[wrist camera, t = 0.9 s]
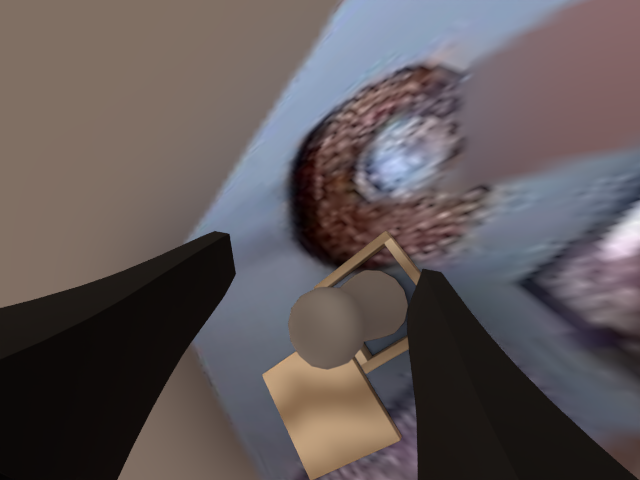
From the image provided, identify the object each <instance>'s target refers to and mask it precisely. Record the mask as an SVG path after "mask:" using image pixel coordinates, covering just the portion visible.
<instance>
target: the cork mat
mask: <svg viewBox="0 0 640 480" xmlns="http://www.w3.org/2000/svg"><path fill="white" fill-rule="evenodd" d="M262 376H263V378H264V380H265V382H266V385H267V387H268V389H269V391H270V393H271V395H272V398H273V400H274V402H275V404H276V406H277V409H278V411H279V413H280V415H281V417H282V419H283V422H284V424H285V426H286V428H287V430H288V433H289V435H290V437H291V439H292V441H293V443H294V446H295V448H296V450H297V452H298V454H299V457H300V459H301V461H302V463H303V465H304V467H305V470H306V472H307V474H308V476H309V478H310V480H313V479H316V478H318V477H320V476H322V475H324V474H327V473H329V472H331V471H333V470H336V469H338V468H340V467H342V466H344V465H347V464H349V463H351V462H353V461H356V460H358V459H360V458H362V457H364V456H367V455H369V454H371V453H373V452H376V451H378V450H380V449H382V448H384V447H387V446H389V445H391V444H393V443H395V442H398V441H400V440H401V437H402V436H401V434H400V432H399V431H398V429H397V427H396V426H395V424H394V422H393V421H392V419H391V417H390V416H389V414H388V412H387V411H386V409H385V407H384V406H383V404H382V402H381V401H380V399H379V397H378V396H377V394H376V392H375V391H374V389H373V387H372V386H371V384H370V382H369V381H368V379H367V377H366V376H365V374H364V372H363V371H362V369H361V367H360V366H359V364H358V362H357V361H356V359H355V357H353V358H352V360H351V361H350V362H349V363H347V364H345V365H342V366H339V367H335V368H332V369H329V370H326V369H321V368H317V367H312V366H311V365H310V364H308V363H307V362H306V361H305V360H304V359H302V358H301V357H300V356H299V355H298V353H297V351H296V352H294V353H293V354H292V355H290V356H289V357H287V358H286V359H284V360H283V361H281V362H280V363H279V364H277V365H276V366H274V367H273V368H271V369H270V370H269V371H267V372H266V373H264V374H263V375H262Z"/></svg>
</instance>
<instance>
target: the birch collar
mask: <svg viewBox="0 0 640 480" xmlns="http://www.w3.org/2000/svg"><path fill="white" fill-rule="evenodd" d="M385 246H386V247H387V248H388V249H389V251H390V252H391V253H392V255H393V256H394V257H395V258H396V260H397V261H398V262H399V264H400V265H401V266H402V268H403V269H404V270H405V272H406V273H407V274H408V275H409V277H410V278H411V279H412V281H413V282H414V283H415V285H417V283H418V280H419V277H420V275H421V272H420V271H419V270H418V268H417V267H416V266H415V265H414V263H413V262H412V261H411V260H410V258H409V257H408V256H407V254H406V253H405V252H404V251H403V249H402V248H401V247H400V246H399V244H398V243H397V242H396V241H395V239H394V238H393V237H392V235H391V234H390V233H389V232H387V231H385V232H384V233H382V234H381V235H380V236H379V237H377V238H376V239H375V240H374V241H372V242H371V243H370V244H368V245H367V246H366V247H365V248H363V249H362V250H361V251H360V252H358V253H357V254H356V255H354V256H353V257H352V258H351V259H349V260H348V261H347V262H346V263H344V264H343V265H342V266H340V267H339V268H338V269H337V270H335V271H334V272H333V273H332V274H330V275H329V276H328V277H326V278H325V279H324V280H323V281H321V282H320V283H319V284H318V285H316V286H315V287H314V289H316V288H318V287H333V286H334V285H335V284H337V283H338V282H339V281H340V280H342V279H343V278H344V277H346V276H347V275H348V274H350V273H351V272H352V271H354V270H355V269H356V268H357V267H359V266H360V265H361V264H363V263H364V262H365V261H367V260H368V259H369V258H371V257H372V256H373V255H375V254H376V253H377V252H378V251H380V250H381V249H382V248H384V247H385ZM408 349H409V345H408V336H407V335H406V336H405V337H403V338H401V339H400V340H398V341H396V342H395V343H393V344H391V345H390V346H388V347H387V348H385V349H383V350H382V351H380V352H378V353H377V354H375V355H373V356H372V355H371V353H370V352H369V350H368V348H367V347H366V345H365V344H364V343H363V346H362V348H361V349H360V350H359V351H358V352H357V354H356V355H355V357H356V358H357V360H358V362H359V363H360V365H361V367H362V368H363V370H364V372H365V373H368V372H370V371H372V370H373V369H375V368H377V367H378V366H380V365H382V364H384V363H385V362H387V361H389V360H390V359H392V358H394V357H396V356H397V355H399V354H401V353H402V352H404V351H406V350H408Z"/></svg>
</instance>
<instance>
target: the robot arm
mask: <svg viewBox="0 0 640 480" xmlns="http://www.w3.org/2000/svg"><path fill="white" fill-rule="evenodd" d="M235 275H236V272H235V266H234V260H233V253H232V247H231V241H230V235H229V234H227V233H222V232H216V231H214V232H211V233H209V234H206V235H204V236H202V237H199V238H197V239H195V240H193V241H190V242H188V243H186V244H184V245H182V246H180V247H177V248H175V249H173V250H171V251H169V252H166V253H164V254H162V255H160V256H157V257H155V258H153V259H150V260H148V261H146V262H143V263H141V264H138V265H136V266H134V267H131V268H129V269H126V270H124V271H122V272H119V273H116V274H114V275H111V276H108V277H105V278H102V279H99V280H96V281H94V282H91V283H88V284H85V285H82V286H79V287H75V288H72V289H69V290H65V291H62V292H58V293H55V294H52V295H48V296H45V297H41V298H38V299H34V300H31V301H27V302H23V303H19V304H15V305H11V306H7V307H4V308H0V480H117V479H118V477H119V475H120V473H121V470H122V468H123V466H124V464H125V462H126V460H127V458H128V456H129V453H130V451H131V449H132V447H133V445H134V443H135V441H136V439H137V437H138V435H139V433H140V431H141V429H142V427H143V425H144V424H145V422H146V420H147V418H148V416H149V414H150V412H151V410H152V408H153V406H154V404H155V403H156V401H157V398H158V397H159V395H160V393H161V391H162V390H163V388H164V386H165V384H166V382H167V381H168V379H169V377H170V375H171V374H172V372H173V370H174V369H175V367H176V365H177V364H178V362H179V360H180V358H181V357H182V355H183V354H184V352H185V351H186V349H187V348H188V346H189V345H190V343H191V342H192V340H193V339H194V338H195V336H196V335H197V334H198V332H199V331H200V329H201V328H202V327H203V325H204V324H205V322H206V321H207V320H208V318H209V317H210V316H211V314H212V313H213V311H214V310H215V309H216V307H217V306H218V304H219V303H220V301H221V300H222V299H223V297H224V296H225V294H226V292H227V290H228V288H229V287H230V285H231V283H232V281H233V279H234V277H235ZM407 336H408V345H409V354H410V362H411V371H412V379H413V387H414V395H415V404H416V417H417V452H418V480H638V479H637V478H636V477H635V476H634V475H633V474H631V473H630V472H629V471H628V470H627V469H625V468H624V467H623V466H622V465H621V464H620V463H619V462H617V461H616V460H615V459H614V458H613V457H612V456H611V455H609V454H608V453H607V452H606V451H605V450H604V449H603V448H601V447H600V446H599V445H598V444H597V443H596V442H595V441H594V440H592V439H591V438H590V437H589V436H588V435H587V434H586V433H585V432H584V431H583V430H582V429H581V428H579V427H578V426H577V425H576V424H575V423H574V422H573V421H572V420H571V419H570V418H569V417H568V416H566V415H565V414H564V413H563V412H562V411H561V410H560V409H559V408H558V407H557V406H556V405H555V404H554V403H553V402H552V401H551V400H550V399H549V398H548V397H547V396H546V395H545V394H544V393H543V392H542V391H541V390H540V389H539V388H538V387H537V386H536V385H535V384H534V383H533V382H532V381H531V380H530V379H529V378H528V377H527V376H526V375H525V374H524V373H523V372H522V371H521V370H520V369H519V368H518V367H517V366H516V365H515V364H514V362H513V361H512V360H511V359H510V358H509V357H508V356H507V355H506V354H505V352H504V351H503V350H502V349H501V348H500V347H499V346H498V344H497V343H496V342H495V341H494V340H493V339H492V338H491V336H490V335H489V334H488V333H487V331H486V330H485V329H484V328H483V327H482V325H481V324H480V323H479V322H478V320H477V319H476V318H475V317H474V315H473V314H472V313H471V311H470V310H469V309H468V308H467V306H466V305H465V304H464V302H463V301H462V300H461V298H460V297H459V296H458V294H457V293H456V291H455V290H454V289H453V287H452V286H451V285H450V283H449V282H448V281H447V279H446V278H445V276H444V275H443V274H442V273H441V272H438V271H432V270H427V269H422V272H421V275H420V277H419V280H418V283H417V285H416V288H415V291H414V293H413V296H412V299H411V301H410V304H409V307H408V317H407Z"/></svg>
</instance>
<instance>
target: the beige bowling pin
mask: <svg viewBox="0 0 640 480" xmlns="http://www.w3.org/2000/svg"><path fill="white" fill-rule="evenodd" d="M407 308H408V304H407V300H406V296H405V292H404V290H403V288H402V287H401V286H400V285H399V283H398V282H397V281H396V279H395V278H393V277H391V276H389V275H387V274H385V273H383V272H381V271H371V270H365V271H363V272H361V273H359V274H357V275H355V276H353V277H352V278H351V279H349V280H348V281H347V282H346V283H345V284H343V285H342V286H341V287H340V288H333V287H318V288H316V289H314V290H312V291H310V292H308V293H306V294H304V295H302V296H300V298H299V299H298V300H297V302H296V303H295V304H294V306H293V307H292V308H291V313H290V318H289V323H288V326H289V333H290V340H291V342H292V344H293V346H294V348H295V349H296V351H297V353H298V355H299V356H300V357H301V358H302V359H304V360H305V361H306V362H307V363H308V364H310V365H311V366H312V367H317V368H321V369H326V370H329V369H332V368H335V367H339V366H342V365H345V364H347V363H349V362H350V361H351V360H352V358H353V357H354V356H355V355H356V354H357V352H358V351H359V350H360V349H361V348H362V346H363V343H364V342H365V341H369V340H374V339H379V338H382V337H385V336H388V335H391V334H394V333H395V332H396V331H397V330H398V329H399V327H400V326H401V325H402V324H403V323H404V321H405V316H406V312H407Z"/></svg>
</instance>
